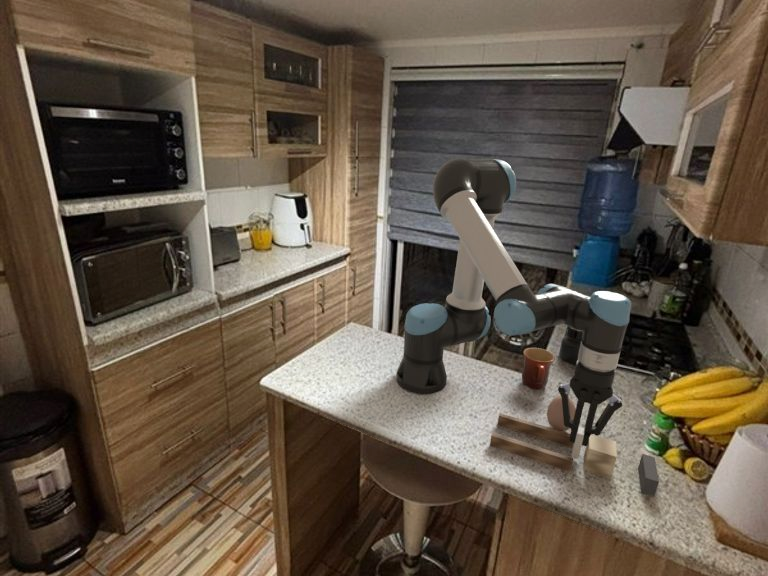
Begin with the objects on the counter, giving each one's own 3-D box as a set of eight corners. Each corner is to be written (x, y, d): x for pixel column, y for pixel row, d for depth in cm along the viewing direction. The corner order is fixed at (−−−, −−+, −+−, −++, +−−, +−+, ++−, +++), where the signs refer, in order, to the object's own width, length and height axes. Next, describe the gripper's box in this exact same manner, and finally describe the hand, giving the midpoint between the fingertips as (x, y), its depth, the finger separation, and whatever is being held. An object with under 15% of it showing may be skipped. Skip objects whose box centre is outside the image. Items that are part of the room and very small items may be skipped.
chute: (489, 445, 100) (491, 435, 99) (498, 422, 109) (499, 413, 108) (570, 472, 93) (573, 461, 92) (572, 445, 101) (575, 435, 100)
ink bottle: (591, 359, 143) (598, 328, 139) (582, 368, 137) (589, 335, 133) (563, 349, 149) (569, 319, 145) (553, 358, 143) (559, 326, 139)
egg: (577, 429, 107) (584, 397, 104) (565, 441, 103) (573, 408, 99) (551, 417, 112) (557, 385, 108) (539, 428, 107) (545, 395, 104)
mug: (517, 375, 131) (522, 346, 128) (546, 379, 130) (551, 349, 126) (521, 396, 120) (526, 365, 117) (553, 401, 119) (559, 369, 115)
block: (583, 470, 94) (588, 448, 92) (584, 454, 98) (589, 433, 96) (610, 479, 91) (616, 457, 89) (610, 462, 96) (615, 441, 94)
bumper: (641, 492, 88) (645, 477, 87) (638, 467, 95) (642, 453, 94) (654, 496, 87) (659, 481, 86) (650, 471, 94) (654, 457, 93)
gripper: (562, 363, 88) (543, 454, 96) (632, 380, 83) (606, 475, 90) (564, 349, 94) (547, 435, 102) (630, 363, 89) (606, 453, 97)
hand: (575, 454), depth 96 cm, fingers closed
